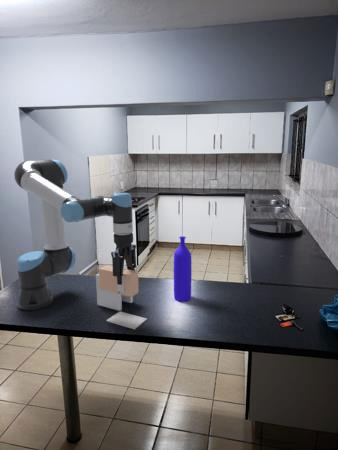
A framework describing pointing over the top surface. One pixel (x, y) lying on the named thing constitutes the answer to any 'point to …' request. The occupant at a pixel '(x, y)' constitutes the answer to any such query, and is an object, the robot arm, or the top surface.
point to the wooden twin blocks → (110, 281)
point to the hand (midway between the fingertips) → (125, 288)
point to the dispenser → (110, 297)
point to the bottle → (182, 272)
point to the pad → (126, 320)
